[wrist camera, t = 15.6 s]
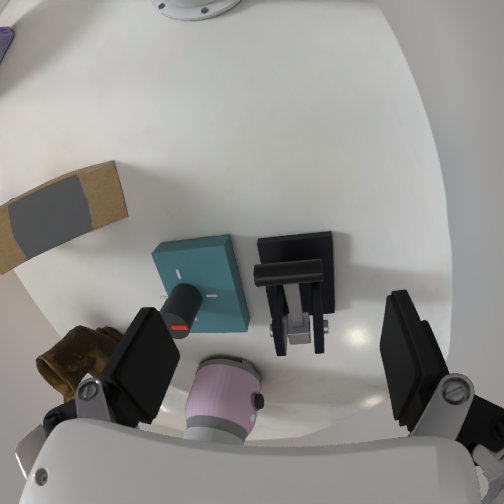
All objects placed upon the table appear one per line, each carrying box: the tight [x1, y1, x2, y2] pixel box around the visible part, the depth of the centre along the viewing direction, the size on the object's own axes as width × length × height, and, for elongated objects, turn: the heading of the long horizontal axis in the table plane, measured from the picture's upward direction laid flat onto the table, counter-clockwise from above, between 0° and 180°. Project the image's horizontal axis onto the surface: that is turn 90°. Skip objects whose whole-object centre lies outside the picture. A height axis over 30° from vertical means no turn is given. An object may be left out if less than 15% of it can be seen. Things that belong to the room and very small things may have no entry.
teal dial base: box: [152, 235, 250, 333], centre depth 38 cm, size 14×11×3 cm
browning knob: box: [160, 283, 202, 339], centre depth 35 cm, size 4×4×6 cm
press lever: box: [254, 259, 323, 345], centre depth 25 cm, size 12×5×2 cm, turn 10°
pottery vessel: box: [36, 325, 123, 403], centre depth 43 cm, size 25×11×20 cm, turn 18°
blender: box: [183, 359, 264, 445], centre depth 35 cm, size 16×12×32 cm
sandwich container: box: [0, 161, 128, 275], centre depth 29 cm, size 9×15×15 cm, turn 97°
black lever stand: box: [257, 231, 335, 356], centre depth 32 cm, size 12×9×12 cm
